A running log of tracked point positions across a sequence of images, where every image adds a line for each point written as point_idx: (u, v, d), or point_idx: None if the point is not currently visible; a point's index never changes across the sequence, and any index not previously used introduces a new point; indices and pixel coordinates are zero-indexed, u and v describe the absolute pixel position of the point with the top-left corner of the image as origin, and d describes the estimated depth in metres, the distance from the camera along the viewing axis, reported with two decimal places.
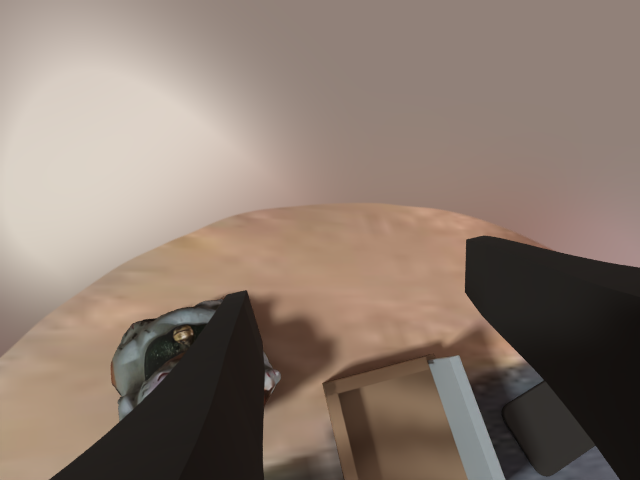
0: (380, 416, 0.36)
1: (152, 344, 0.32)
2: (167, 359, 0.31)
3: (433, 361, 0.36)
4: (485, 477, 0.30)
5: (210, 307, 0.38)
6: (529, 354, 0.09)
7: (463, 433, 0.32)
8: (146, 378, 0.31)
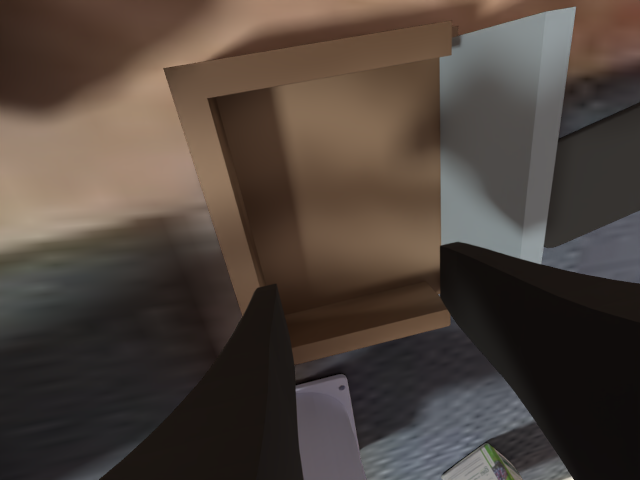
0: (313, 154, 0.17)
1: None
2: None
3: (460, 39, 0.14)
4: None
5: None
6: (498, 362, 0.09)
7: (474, 197, 0.16)
8: None
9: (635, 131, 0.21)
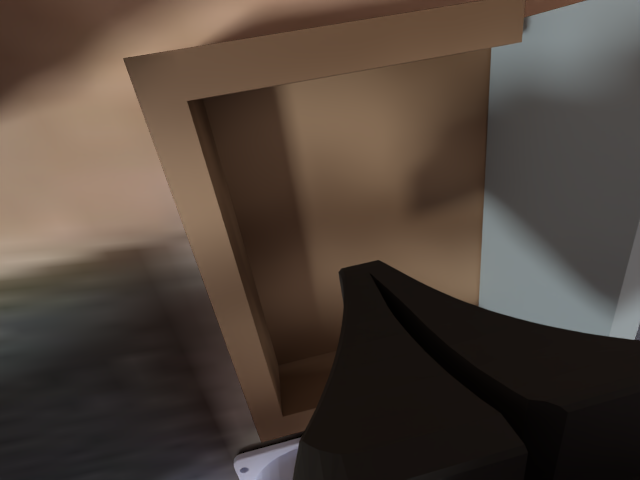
0: (328, 171, 0.14)
1: None
2: None
3: (528, 22, 0.11)
4: (564, 328, 0.12)
5: None
6: None
7: (537, 228, 0.12)
8: None
9: None
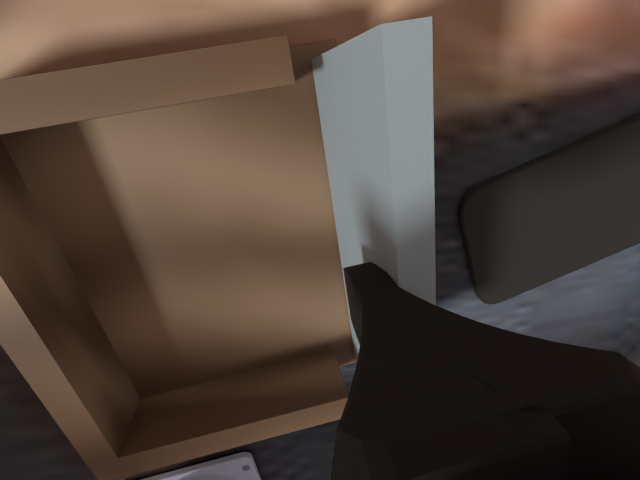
0: (156, 205, 0.13)
1: None
2: None
3: (323, 59, 0.10)
4: None
5: None
6: None
7: None
8: None
9: (590, 168, 0.17)
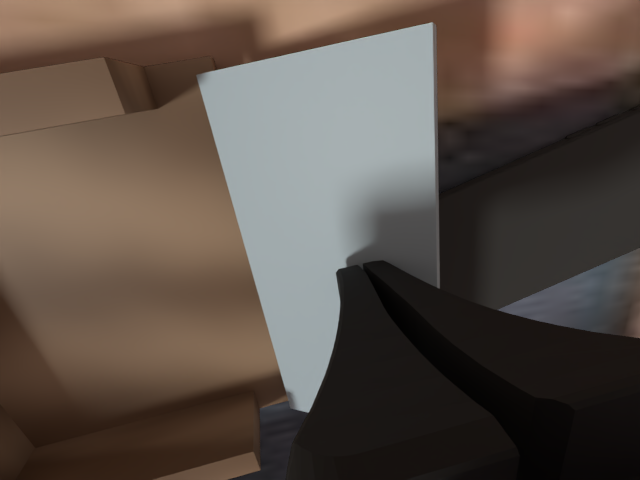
0: (20, 243, 0.12)
1: None
2: None
3: (251, 69, 0.09)
4: None
5: None
6: None
7: (334, 283, 0.11)
8: None
9: (528, 191, 0.15)
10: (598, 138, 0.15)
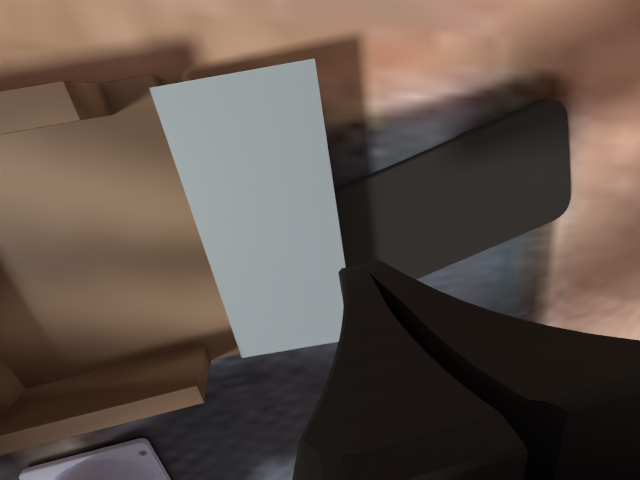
0: (10, 218, 0.15)
1: None
2: None
3: (197, 83, 0.13)
4: (318, 284, 0.17)
5: None
6: None
7: (270, 233, 0.16)
8: None
9: (427, 180, 0.18)
10: (482, 138, 0.18)
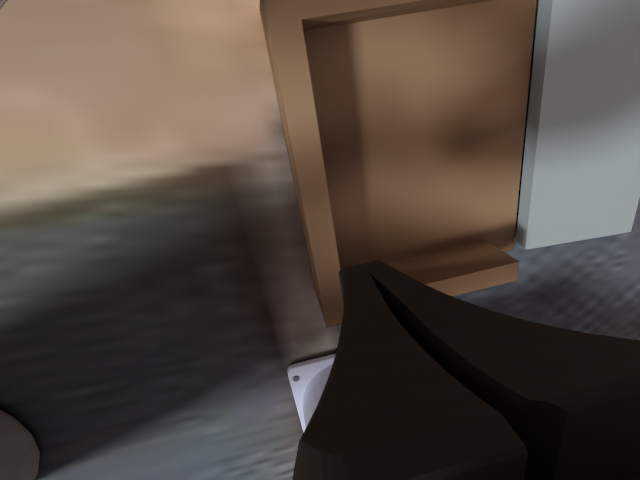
0: (385, 98, 0.17)
1: None
2: None
3: None
4: (619, 173, 0.19)
5: None
6: None
7: (599, 118, 0.18)
8: None
9: None
10: None
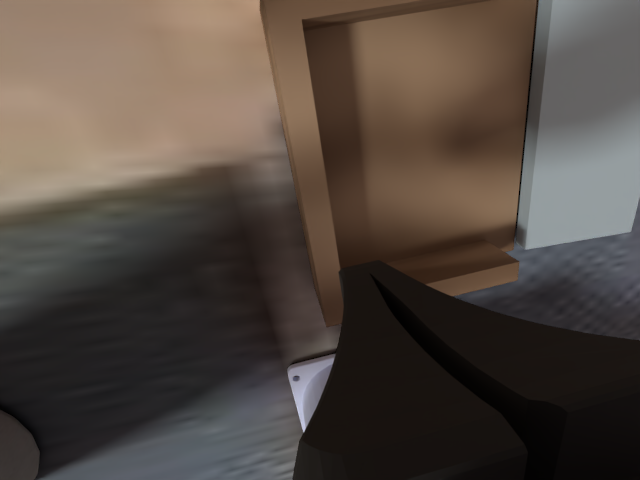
0: (385, 98, 0.17)
1: None
2: None
3: None
4: (619, 173, 0.19)
5: None
6: None
7: (599, 119, 0.18)
8: None
9: None
10: None
